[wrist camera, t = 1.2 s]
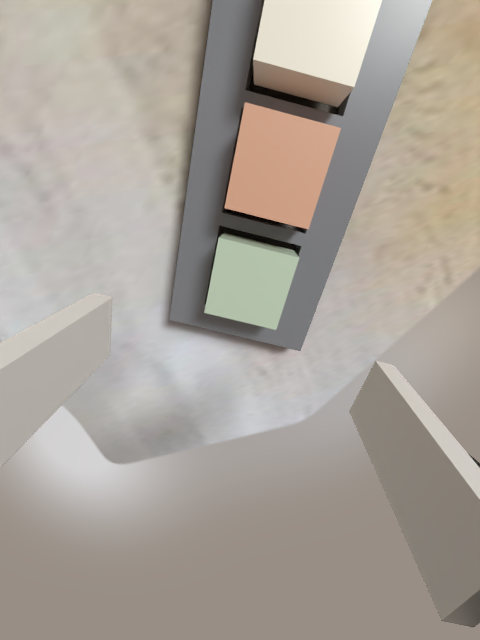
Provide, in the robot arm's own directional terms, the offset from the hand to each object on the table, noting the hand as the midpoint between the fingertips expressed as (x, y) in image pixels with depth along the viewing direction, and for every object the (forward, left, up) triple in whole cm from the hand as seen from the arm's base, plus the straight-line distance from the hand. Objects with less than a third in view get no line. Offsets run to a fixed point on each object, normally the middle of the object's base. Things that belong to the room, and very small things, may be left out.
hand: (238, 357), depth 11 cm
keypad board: (-8, 0, -16) cm, 18 cm away
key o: (0, 0, -14) cm, 14 cm away
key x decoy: (-8, 0, -14) cm, 16 cm away
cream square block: (-16, 0, -14) cm, 21 cm away
